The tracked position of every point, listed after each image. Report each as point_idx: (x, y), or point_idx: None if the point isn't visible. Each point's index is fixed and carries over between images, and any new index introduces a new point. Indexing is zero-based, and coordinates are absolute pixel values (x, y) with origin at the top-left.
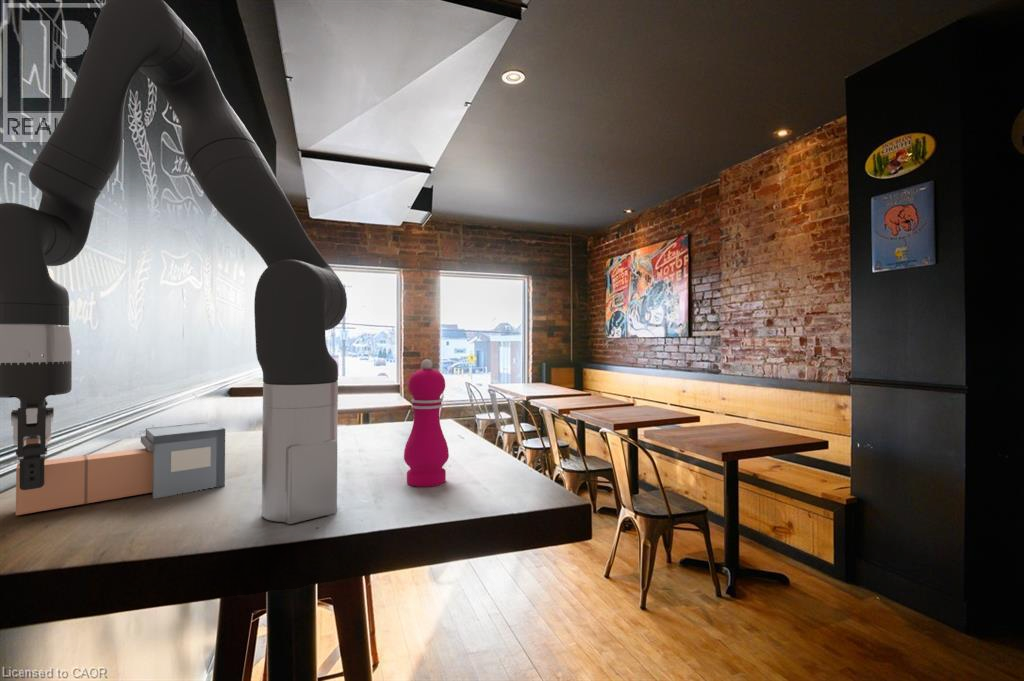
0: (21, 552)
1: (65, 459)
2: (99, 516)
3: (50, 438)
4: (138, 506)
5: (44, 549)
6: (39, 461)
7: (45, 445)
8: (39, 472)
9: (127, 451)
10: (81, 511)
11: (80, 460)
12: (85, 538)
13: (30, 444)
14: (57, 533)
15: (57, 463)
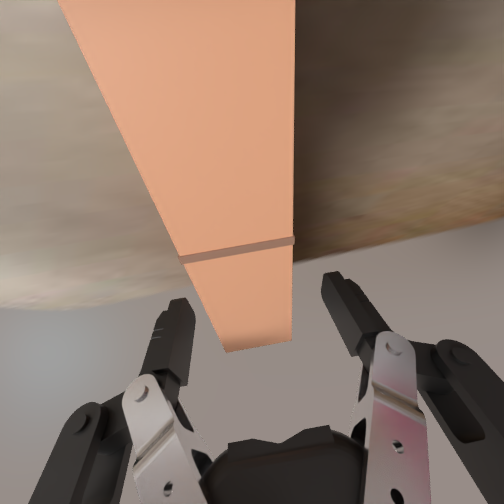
0: (453, 220)
1: (233, 293)
2: (374, 139)
3: (391, 401)
4: (370, 31)
5: (475, 197)
6: (387, 327)
7: (413, 373)
8: (368, 300)
9: (130, 37)
10: (301, 181)
11: (291, 254)
12: (494, 148)
13: (172, 400)
14: (413, 195)
15: (291, 296)
